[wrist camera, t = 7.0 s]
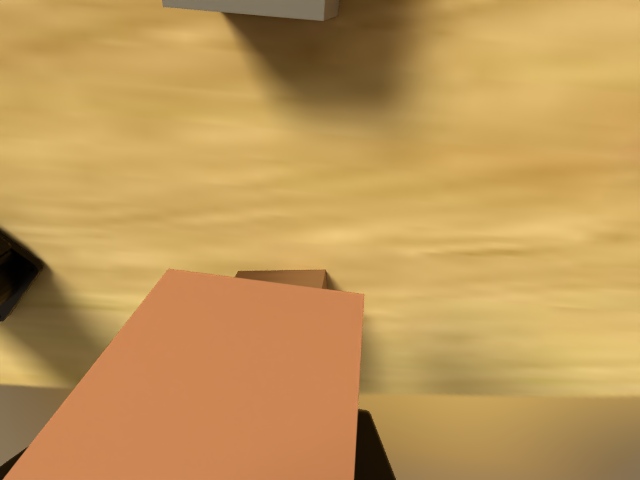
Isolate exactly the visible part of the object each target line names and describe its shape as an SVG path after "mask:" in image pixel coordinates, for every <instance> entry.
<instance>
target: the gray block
mask: <svg viewBox="0 0 640 480" xmlns="http://www.w3.org/2000/svg"><path fill="white" fill-rule="evenodd" d="M162 2H163V7H170V8H182V9H193V10H204V11H216V12H227V13H238V14H250V15H261V16H272V17H284V18H295V19H306V20H318V21H325V20H328V19H331V18H333V17H336V16H338V11H339V0H162Z"/></svg>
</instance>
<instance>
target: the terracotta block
mask: <svg viewBox="0 0 640 480" xmlns="http://www.w3.org/2000/svg"><path fill="white" fill-rule="evenodd" d="M363 308H364V294H359V293H351V292H343V291H336V290H328V289H320V288H313V287H305V286H297V285H290V284H282V283H274V282H266V281H259V280H251V279H243V278H236V277H228V276H220V275H213V274H205V273H197V272H190V271H182V270H174V269H168V270H167V271H166V273H165V274H164V275H163V277H162V278H161V279H160V280H159V282H158V283H157V284H156V285H155V287H154V288H153V289H152V290H151V292H150V293H149V294H148V296H147V297H146V298H145V299H144V301H143V302H142V303H141V304H140V306H139V307H138V308H137V310H136V311H135V312H134V313H133V315H132V316H131V317H130V318H129V320H128V321H127V322H126V324H125V325H124V326H123V327H122V329H121V330H120V331H119V332H118V334H117V335H116V336H115V338H114V339H113V340H112V341H111V343H110V344H109V345H108V346H107V348H106V349H105V350H104V351H103V353H102V354H101V355H100V357H99V358H98V359H97V360H96V362H95V363H94V364H93V365H92V367H91V368H90V369H89V371H88V372H87V373H86V374H85V376H84V377H83V378H82V379H81V381H80V382H79V383H78V385H77V386H76V387H75V388H74V390H73V391H72V392H71V393H70V395H69V396H68V397H67V399H66V400H65V401H64V403H63V404H62V405H61V406H60V408H59V409H58V410H57V411H56V412H55V414H54V415H53V416H52V418H51V419H50V420H49V422H48V423H47V424H46V425H45V426H44V428H43V429H42V430H41V432H40V433H39V434H38V435H37V437H36V438H35V439H34V440H33V442H32V443H31V444H30V446H29V447H28V448H27V449H26V451H25V452H24V453H23V454H22V456H21V457H20V458H19V460H18V461H17V462H16V463H15V465H14V466H13V467H12V468H11V470H10V471H9V472H8V473H7V475H6V476H5V477H4V479H3V480H354V470H355V452H356V434H357V416H358V398H359V380H360V362H361V344H362V326H363Z"/></svg>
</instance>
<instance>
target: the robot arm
mask: <svg viewBox="0 0 640 480" xmlns="http://www.w3.org/2000/svg"><path fill="white" fill-rule="evenodd" d="M42 269H43V265H42V264H41V262H40V261H39V260H37V259H36V258H35V257H33V256H32V255H30V254H29V253H27V252H26V251H25V250H23V249H22V248H20V247H19V246H18V245H16V244H15V243H13V242H12V241H10V240H9V239H8V238H6V237H5V236H3V235H2V234H1V233H0V321H4V320H5V319H6V318H7V317H8V316H9V315H10V314H11V312H12V311H13V310H14V308H15V307H16V305H17V304H18V303H19V301H20V300H21V299H22V297H23V296H24V294H25V293H26V292H27V290H28V289H29V288H30V286H31V285H32V283H33V282H34V281H35V279H36V278H37V277H38V275H39V274H40V272H41V271H42ZM28 447H29V446H28ZM28 447H27V448H28ZM27 448H25V449H24V450H23V451H21V452H20V453H19V454H17V455H16V456H14V457H13V458H11V459H10V460H9V461H7V462H6V463H4V464H3V465H2V466H0V480H3V479H4V477H5V476H6V475H7V473H8V472H9V471H10V470H11V468H12V467H13V466H14V465H15V463H16V462H17V461H18V460H19V458H20V457H21V456H22V454H23V453H24V452H25V451H26V449H27ZM354 480H396V478H395V476H394V473H393V471H392V468H391V465H390V463H389V460H388V458H387V455H386V452H385V450H384V448H383V445H382V442H381V440H380V437H379V434H378V432H377V429H376V427H375V424H374V422H373V419H372V416H371V414H370V412H369V411H367V410H362V409H358V416H357V434H356V452H355V470H354Z"/></svg>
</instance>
